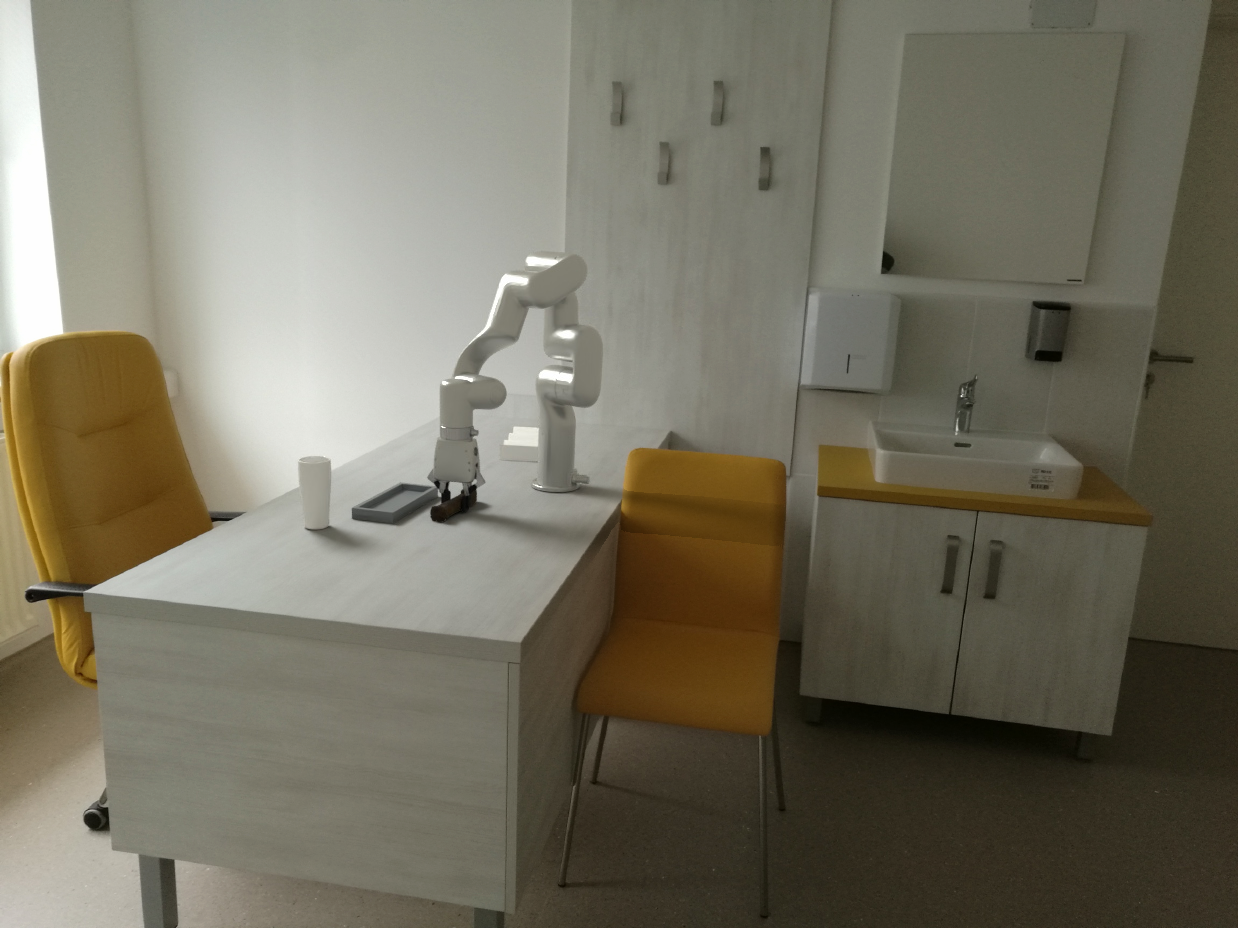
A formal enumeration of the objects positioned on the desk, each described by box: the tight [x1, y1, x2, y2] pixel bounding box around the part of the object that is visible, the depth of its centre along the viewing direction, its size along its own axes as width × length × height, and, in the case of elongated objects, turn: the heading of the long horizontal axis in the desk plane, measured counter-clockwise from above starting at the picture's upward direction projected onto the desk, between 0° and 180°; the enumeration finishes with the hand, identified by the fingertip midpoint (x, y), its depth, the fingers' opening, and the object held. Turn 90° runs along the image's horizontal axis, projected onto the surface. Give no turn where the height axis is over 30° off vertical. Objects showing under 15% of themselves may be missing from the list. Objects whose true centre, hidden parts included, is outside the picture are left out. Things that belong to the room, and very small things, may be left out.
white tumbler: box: [297, 455, 332, 531], centre depth 201 cm, size 7×7×15 cm
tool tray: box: [351, 481, 439, 524], centre depth 220 cm, size 10×24×2 cm, turn 167°
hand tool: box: [429, 488, 478, 523], centre depth 218 cm, size 19×4×5 cm, turn 159°
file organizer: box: [498, 426, 539, 463], centre depth 286 cm, size 13×35×5 cm, turn 178°
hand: (456, 508), depth 219 cm, fingers open, 4 cm apart
